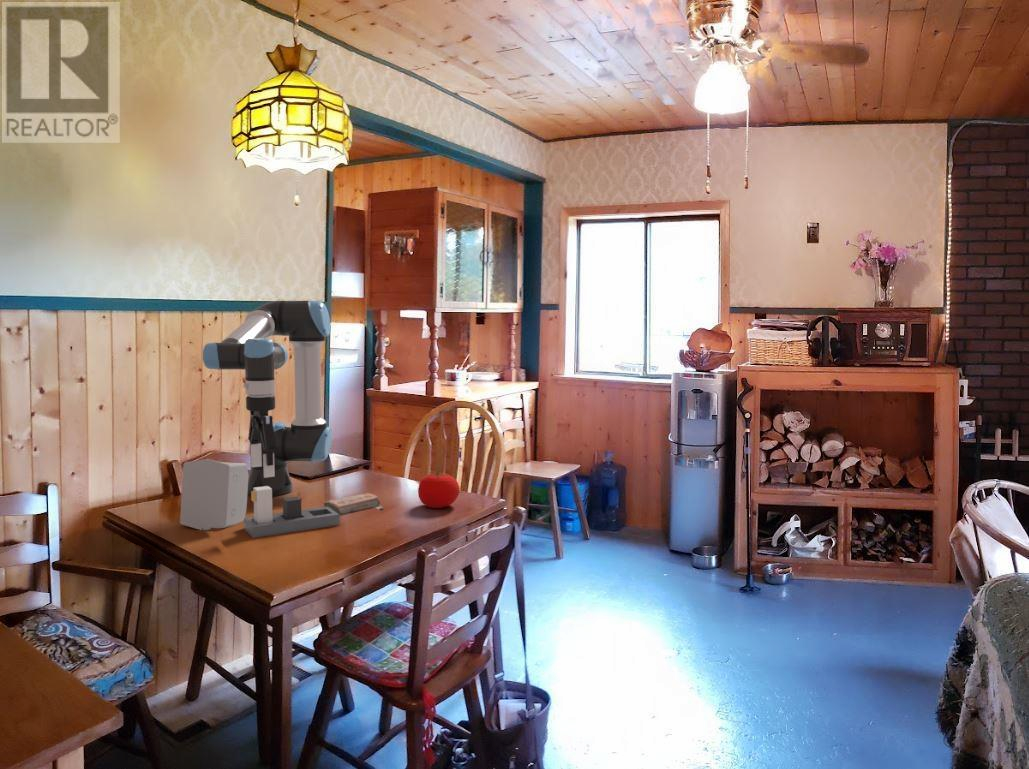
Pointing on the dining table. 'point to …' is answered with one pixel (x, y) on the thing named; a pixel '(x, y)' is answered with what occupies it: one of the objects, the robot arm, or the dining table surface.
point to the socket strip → (293, 522)
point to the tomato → (438, 490)
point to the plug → (262, 504)
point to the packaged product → (354, 503)
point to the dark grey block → (291, 508)
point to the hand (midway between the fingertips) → (262, 471)
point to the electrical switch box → (213, 494)
